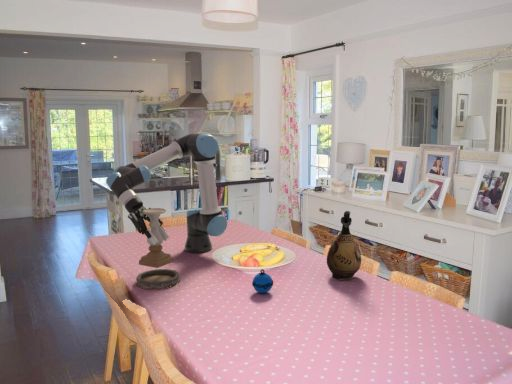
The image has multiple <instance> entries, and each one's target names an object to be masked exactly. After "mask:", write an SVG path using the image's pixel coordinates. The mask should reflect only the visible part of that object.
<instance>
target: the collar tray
mask: <svg viewBox="0 0 512 384" xmlns="http://www.w3.org/2000/svg"><path fill="white" fill-rule="evenodd" d="M180 278H181V277H180V272H178V271H177V270H175V269H169V268H156V269H150V270H146V271H144V272H141V273H138V275H137V276H136V286H137V287H139V288H140V289H143V288H144V289H143V290H149V289H157V290H163V289H162V288H165V289H168V288H167V287H169V288H171V287H170V286H172V287H174V286H173V285H175V286H177V285H178V284H179V283H180V282H181V279H180ZM179 281H180V282H179ZM178 282H179V283H178ZM177 283H178V284H177ZM176 284H177V285H176Z"/></svg>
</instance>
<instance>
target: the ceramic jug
mask: <svg viewBox="0 0 512 384" xmlns="http://www.w3.org/2000/svg"><path fill="white" fill-rule="evenodd" d="M350 216H351V211H350V210H345V211H344V213H343V216H341V218H340V223H341V224H342V225H341V226H342V227H341V230H340V232H339V233H340V234H338V235H337V236H336V238H334V240H333V242H332V244H331V245H330V246H329V248H328V251H327V253H326V254H327V255H326V265H327V268H328V269H329V272H331V276H332V279H336V280H339V281H349V280H352V279H353V277H354V276H355V274H357V272H358V271H359V270H360V268H361V265H362V256H361V255H362V254H361V251H360V248H359V245H358V243H357V242H356V239H354V237H353V235H352V234H351V232H350V226H351V225H352V220H353V219H352V218H351V217H350Z"/></svg>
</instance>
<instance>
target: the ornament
mask: <svg viewBox="0 0 512 384" xmlns="http://www.w3.org/2000/svg"><path fill="white" fill-rule="evenodd" d="M251 284H252V287H253V288H254V290H255V291H256V292H258V293H260V294H265V293H266V294H267V293H268V292H269V291H271V289H272V287H273V286H274V280H273V278H272V277H271V275H269V274H268V273H266V272H265V269H261V270H260V272H259V273H257V274H256V275H255V276H254V277H253V279H252V283H251Z"/></svg>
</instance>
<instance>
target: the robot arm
mask: <svg viewBox="0 0 512 384" xmlns="http://www.w3.org/2000/svg"><path fill="white" fill-rule="evenodd" d="M218 152H219V142H218V140H217V139H216V137H214V136H213V135H212V134H207V133H190V134H189V133H188V134H186V135H184V136H182V137H180V138H177V139H175V140H173V141H171V143H170V144H169V145H167V146H165V147H163V148H161V149H159V150H157V151H154V152H152V153H151V154H148V155H146V156H144V157H141V158H139V159H137V160H135V161H133V162H131V163H129V164H126V165H120V166H118V167H116V168H115V170H114V171H113V172H112V173H110V175H108V176H107V178H106V180H105V181H106V182H105V183H106V184H107V187H108V188H109V189H110V190H111V192H112V193H113V194H114V195H115V196H116V198H117V199H118V200H119V201H120V203H121V204H122V205H123V206H124V208H125V210H126V211H127V212H128V213H129V214H128V215H127V218H128V219H129V220H130V221H131V223H132V224H133V225H134V227H135V229H136V231H137V232H138V234H141V235H145V236H146V239H147V238H148V239H150V241H151V242H152V243H153V245H155V244H156V243H157V242H158V240H157V238H156V237H155V236H154V235H153V233H152V232H151V228H150V229H148V228H147V224H146V223H145V221H147V222H148V223H150V218H149V217H148V215H146V214H143V213H142V211H143V210H145V209H147V208H146V207H145V206H144V202H143V201H142V199H141V198H140V197H139V196H138V195H137V193H136V192H135V191H134V190H133V189H134V188H135V187H137V186H140V185H142V184H144V183H146V182H148V181H150V180H151V178H152V174H151V171H153V170H156V169H157V168H159V167H162V166H163V165H165V164H167V163H170V162H171V161H174V160H175V159H179V160H180V159H183V158H184V157H189V156H192V161H193V163H195V164H196V170H197V177H198V178H197V179H198V186H199V195H200V201H201V207H200V208H199V207H198V208H191V209H188V210H187V211H186V217H185V218H186V228H187V229H186V230H187V231H186V232H187V235H186V236H187V238H186V240H185V243H184V251H185V252H188V253H194V254H197V253H198V254H199V253H206V252H209V251H211V250H212V249H213V244H212V241H211V239H210V237H220V236H221V235H223V234H224V233H225V231H226V230H227V227H228V220H227V217H225V216H224V215H223V212H222V208H221V207H219V201H218V200H219V199H218V193H217V185H216V176H215V168H214V162H215V160H216V158H217V157H216V155H217V154H218ZM151 208H152V207H149V208H148V209H151ZM158 221H159V223H160V224H161V225H160V226H159V232H160V233H161V235H162V236H163V239H164V241H168V239H169V238H170V236H169V234H167V231H166V230H165V229H164V227H163V224H164V222H163V221H162V219H160V217H159V218H158Z"/></svg>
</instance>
